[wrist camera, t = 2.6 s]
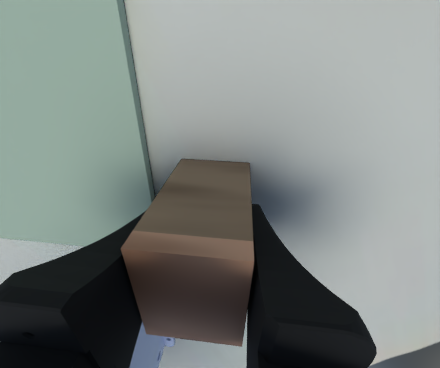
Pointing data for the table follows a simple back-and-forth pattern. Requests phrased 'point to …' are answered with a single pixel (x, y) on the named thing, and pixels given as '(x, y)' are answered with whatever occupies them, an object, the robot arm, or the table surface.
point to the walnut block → (195, 254)
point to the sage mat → (69, 122)
